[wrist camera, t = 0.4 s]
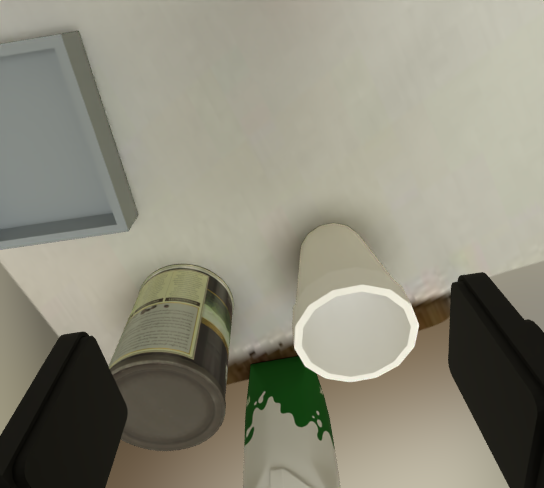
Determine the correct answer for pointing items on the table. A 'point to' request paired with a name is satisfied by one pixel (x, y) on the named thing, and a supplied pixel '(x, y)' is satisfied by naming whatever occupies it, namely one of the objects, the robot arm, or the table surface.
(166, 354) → the coffee can
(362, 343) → the foam cup
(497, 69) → the table surface
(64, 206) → the pin tray
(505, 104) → the table surface
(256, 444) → the milk carton
